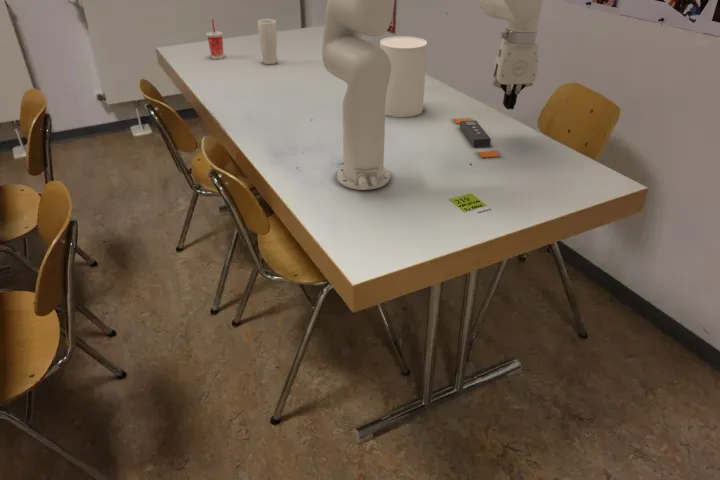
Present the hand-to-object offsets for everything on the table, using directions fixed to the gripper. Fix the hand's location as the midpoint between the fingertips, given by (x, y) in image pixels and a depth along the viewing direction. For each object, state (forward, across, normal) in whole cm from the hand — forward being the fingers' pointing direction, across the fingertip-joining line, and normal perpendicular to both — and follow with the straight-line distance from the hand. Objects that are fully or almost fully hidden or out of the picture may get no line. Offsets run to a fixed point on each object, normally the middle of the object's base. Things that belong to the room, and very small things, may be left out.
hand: (508, 107), depth 154 cm
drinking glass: (+9, -63, +78) cm, 101 cm away
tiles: (+8, -8, 0) cm, 12 cm away
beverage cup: (+9, -83, +88) cm, 122 cm away
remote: (+8, -8, 0) cm, 12 cm away
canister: (+9, -24, +24) cm, 35 cm away
